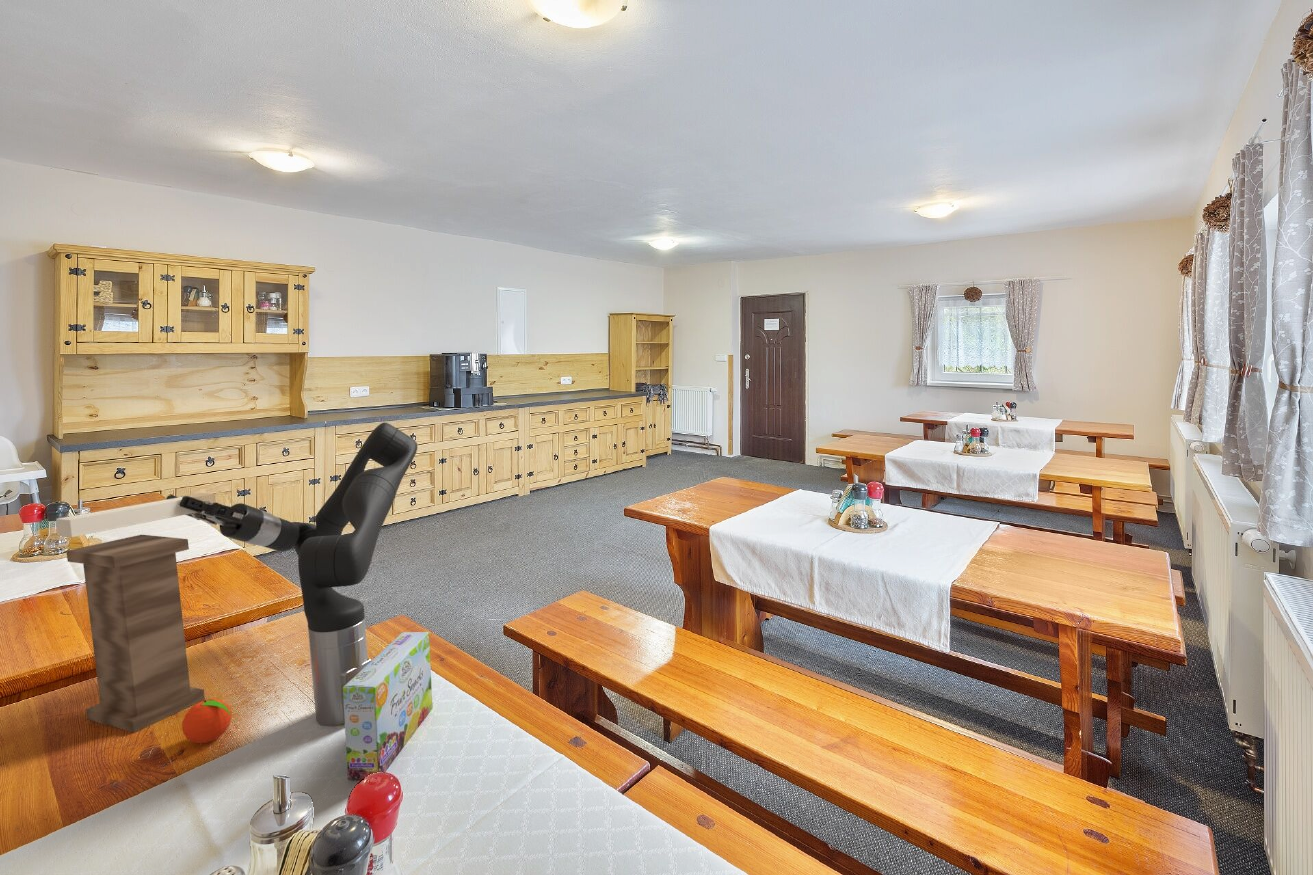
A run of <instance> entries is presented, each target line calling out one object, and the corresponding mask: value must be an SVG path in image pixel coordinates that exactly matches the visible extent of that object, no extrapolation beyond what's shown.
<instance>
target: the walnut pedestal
mask: <svg viewBox="0 0 1313 875" xmlns="http://www.w3.org/2000/svg"><path fill="white" fill-rule="evenodd" d="M187 550H190V547H189V539H188V538H181V537H180V538H179V537H170V536H162V535H161V536H160V535H151V534H150V535H149V534H138V535H134V536H129V537H124V538H121V539H115V540H110V541H106V542H101V543H97V544H92V545H87V546H83V547H78V548H73V549H68V550H66V551H65V552H66V559H67V562H69V563H76V564H82V566H83V573H84V574H83V575H84V582H85V591H86V598H87V605H88V606H87V607H88V613H89V622H90V629H91V630H90V631H91V632H90V633H91V638H92V646H93V647H92V648H93V657H94V662H95V670H96V671H95V673H96V680H97V687H98V688H97V689H98V696H99V703H97V704H95V705H93V706H90V707H87V708H86V709H85V711H86V718H87V720H89V721H92V722H96V723H99V724H103V725H106V726H109V727H112V728H113V727H114V728H117V729H120V730H123V731H127V732H131V733H137V732H138V731H141V730H143V729H146V728H147V727H149V726H152V725H154V724H157V722H160V721H162V720H164V719H166V718H168V717H171V716H173V715H175V714H178V712H181V711H182V710H185V709H187V708H189V707H193V706H194V705H196V704H197V703H199V702H201V701H204V700H206V699H205V697H206V696H205V690H204V689H203V688H198V687H194V686H191V685H190V676H189V675H190V674H189V664H188V659H187V657H188V656H187V647H186V638H185V630H184V619H183V611H182V600H181V593H180V592H181V591H180V583H179V573H178V564H177V555H176V554H177V553H180V552H184V551H187Z"/></svg>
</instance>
